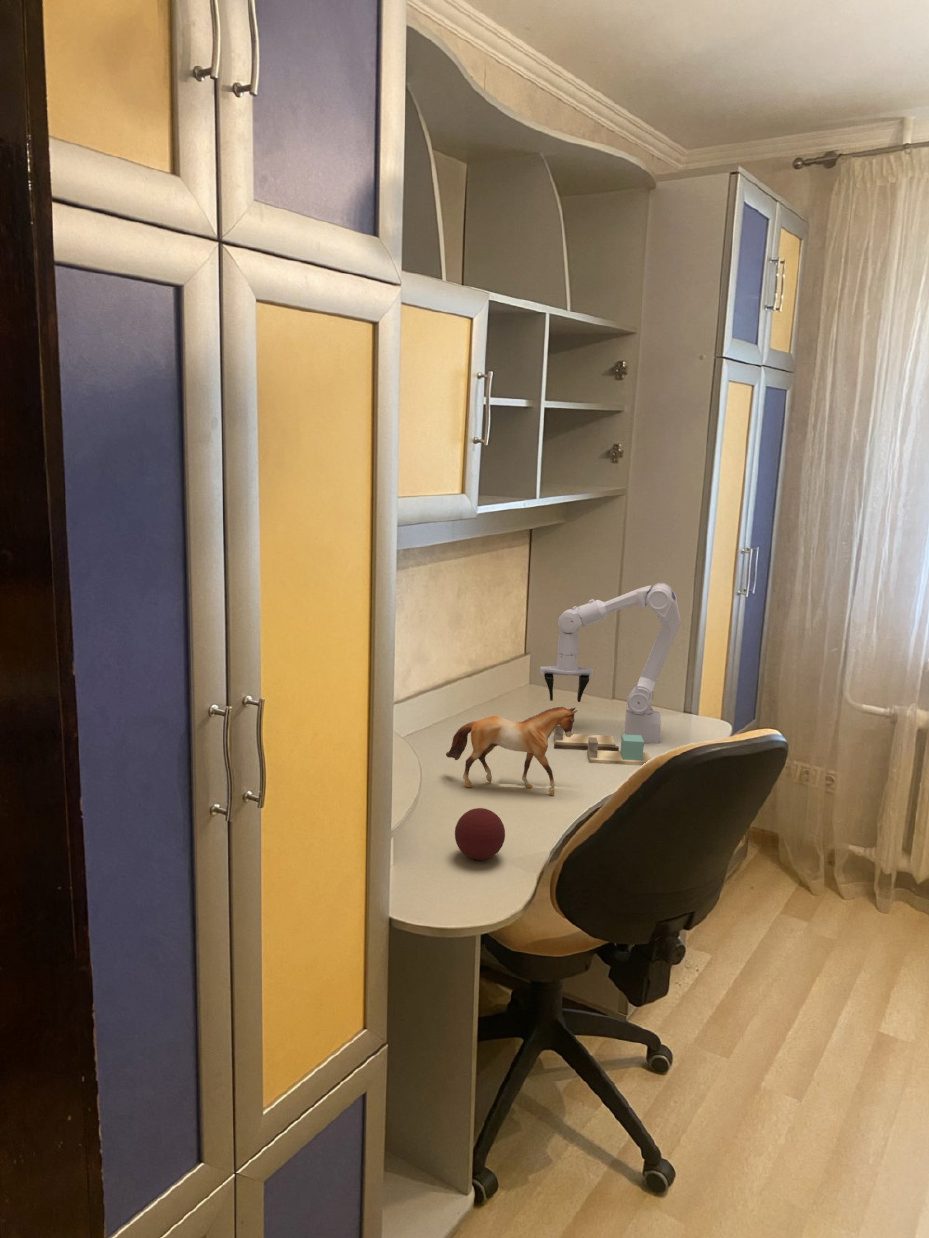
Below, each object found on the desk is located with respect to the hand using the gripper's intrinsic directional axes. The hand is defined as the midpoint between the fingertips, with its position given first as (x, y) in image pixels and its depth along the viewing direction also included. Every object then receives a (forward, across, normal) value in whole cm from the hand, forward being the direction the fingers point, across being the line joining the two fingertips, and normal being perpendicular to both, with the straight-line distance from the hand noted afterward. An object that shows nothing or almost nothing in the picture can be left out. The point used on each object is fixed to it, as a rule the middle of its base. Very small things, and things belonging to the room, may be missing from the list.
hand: (565, 700), depth 257 cm
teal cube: (+8, -16, +22) cm, 28 cm away
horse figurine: (+10, +16, +39) cm, 43 cm away
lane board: (+9, -5, +16) cm, 19 cm away
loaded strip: (+8, -13, +22) cm, 27 cm away
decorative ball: (+10, +22, +78) cm, 82 cm away
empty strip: (+8, -5, +10) cm, 14 cm away
